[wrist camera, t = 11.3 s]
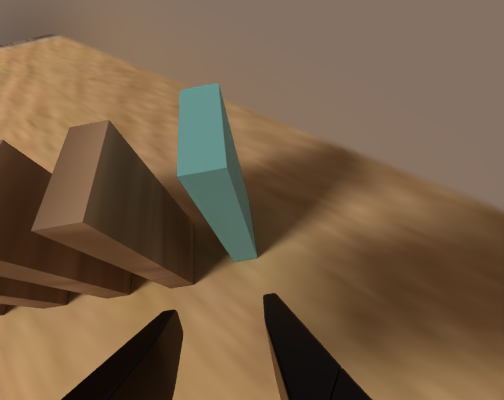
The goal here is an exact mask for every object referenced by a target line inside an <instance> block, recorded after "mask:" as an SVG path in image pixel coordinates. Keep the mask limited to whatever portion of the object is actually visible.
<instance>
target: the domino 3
mask: <svg viewBox="0 0 504 400" xmlns="http://www.w3.org/2000/svg"><path fill="white" fill-rule="evenodd" d="M51 176H52V174H51V173H50V172H48V171H47V170H45V169H44V168H43V167H41V166H40V165H38V164H37V163H35V162H34V161H33V160H31V159H30V158H28V157H27V156H25V155H24V154H23V153H21V152H20V151H18V150H17V149H15V148H14V147H13V146H11V145H10V144H8V143H7V142H5V141H4V140H0V276H1V277H6V278H11V279H16V280H20V281H25V282H30V283H35V284H39V285H44V286H49V287H54V288H59V289H63V290H68V291H73V292H78V293H83V294H87V295H92V296H97V297H102V298H106V299H107V298H113V297H119V296H125V295H130V288H131V280H132V272H129V271H127V270H125V269H122V268H120V267H117V266H115V265H113V264H110V263H108V262H105V261H103V260H100V259H98V258H96V257H93V256H91V255H88V254H86V253H83V252H81V251H79V250H76V249H74V248H71V247H69V246H66V245H64V244H62V243H59V242H57V241H54V240H52V239H49V238H47V237H45V236H42V235H40V234H37V233H35V232H32V231H31V229H32V227H33V224H34V221H35V219H36V216H37V213H38V211H39V208H40V205H41V203H42V200H43V197H44V195H45V192H46V189H47V187H48V184H49V181H50V179H51Z"/></svg>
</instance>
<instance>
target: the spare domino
mask: <svg viewBox="0 0 504 400" xmlns="http://www.w3.org/2000/svg"><path fill="white" fill-rule="evenodd" d="M177 178H178V179H179V181H180V182H181V184H182V185H183V187H184V188H185V190H186V191H187V192H188V194H189V195H190V197H191V198H192V200H193V201H194V203H195V204H196V206H197V207H198V209H199V210H200V212H201V213H202V215H203V216H204V218H205V219H206V221H207V222H208V224H209V225H210V227H211V228H212V230H213V231H214V233H215V234H216V236H217V237H218V239H219V240H220V242H221V243H222V245H223V246H224V248H225V249H226V251H227V252H228V254H229V255H230V257H231V258H232V259H233V261H234V262H237V261H243V260H250V259H256V258H257V252H256V245H255V238H254V231H253V224H252V217H251V211H250V204H249V199H248V195H247V191H246V188H245V184H244V180H243V176H242V172H241V168H240V164H239V160H238V156H237V153H236V149H235V145H234V141H233V137H232V133H231V129H230V125H229V122H228V118H227V114H226V110H225V106H224V102H223V98H222V94H221V91H220V87H219V83H214V84H209V85H204V86H198V87H193V88H187V89H182V90H180V104H179V130H178V157H177Z"/></svg>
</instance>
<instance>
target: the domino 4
mask: <svg viewBox="0 0 504 400" xmlns="http://www.w3.org/2000/svg"><path fill="white" fill-rule="evenodd" d="M31 231H32V232H35V233H37V234H40V235H42V236H45V237H47V238H49V239H52V240H54V241H57V242H59V243H62V244H64V245H66V246H69V247H71V248H74V249H76V250H79V251H81V252H83V253H86V254H88V255H91V256H93V257H96V258H98V259H100V260H103V261H105V262H108V263H110V264H113V265H115V266H117V267H120V268H122V269H125V270H127V271H129V272H132V273H134V274H137V275H139V276H142V277H144V278H146V279H149V280H151V281H154V282H156V283H159V284H161V285H163V286H166V287H168V288H176V287H182V286H189V285H194V224H193V223H192V221H191V220H190V219H189V218H188V216H187V215H186V214H185V213H184V211H183V210H182V209H181V208H180V207H179V205H178V204H177V203H176V202H175V200H174V199H173V198H172V197H171V196H170V194H169V193H168V192H167V191H166V189H165V188H164V187H163V186H162V184H161V183H160V182H159V181H158V180H157V178H156V177H155V176H154V175H153V173H152V172H151V171H150V170H149V168H148V167H147V166H146V165H145V164H144V162H143V161H142V160H141V159H140V157H139V156H138V155H137V154H136V153H135V151H134V150H133V149H132V148H131V146H130V145H129V144H128V143H127V141H126V140H125V139H124V138H123V137H122V135H121V134H120V133H119V132H118V130H117V129H116V128H115V127H114V125H113V124H112V123H111V122H110V121H109V120H107V121H101V122H96V123H91V124H86V125H80V126H75V127H70V128H69V131H68V133H67V136H66V139H65V141H64V144H63V147H62V149H61V152H60V155H59V157H58V160H57V163H56V165H55V168H54V171H53V173H52V176H51V179H50V181H49V184H48V187H47V189H46V192H45V195H44V197H43V200H42V203H41V205H40V208H39V211H38V213H37V216H36V219H35V221H34V224H33V227H32V229H31Z"/></svg>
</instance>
